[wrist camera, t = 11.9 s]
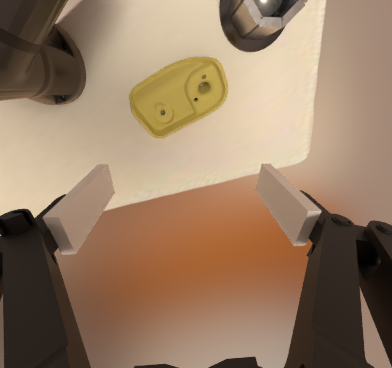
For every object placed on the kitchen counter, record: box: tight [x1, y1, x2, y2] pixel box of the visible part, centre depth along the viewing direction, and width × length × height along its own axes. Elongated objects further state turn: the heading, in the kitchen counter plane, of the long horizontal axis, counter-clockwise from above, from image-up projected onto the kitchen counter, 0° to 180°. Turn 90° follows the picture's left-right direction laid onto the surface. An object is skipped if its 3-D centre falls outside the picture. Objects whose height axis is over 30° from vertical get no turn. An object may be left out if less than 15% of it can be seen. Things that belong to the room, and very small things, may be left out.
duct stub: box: [219, 0, 286, 52], centre depth 31 cm, size 14×14×6 cm
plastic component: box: [130, 57, 228, 138], centre depth 39 cm, size 20×7×10 cm
